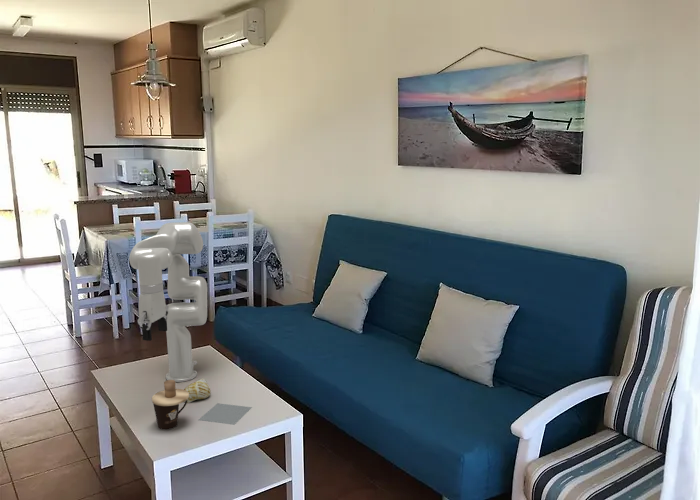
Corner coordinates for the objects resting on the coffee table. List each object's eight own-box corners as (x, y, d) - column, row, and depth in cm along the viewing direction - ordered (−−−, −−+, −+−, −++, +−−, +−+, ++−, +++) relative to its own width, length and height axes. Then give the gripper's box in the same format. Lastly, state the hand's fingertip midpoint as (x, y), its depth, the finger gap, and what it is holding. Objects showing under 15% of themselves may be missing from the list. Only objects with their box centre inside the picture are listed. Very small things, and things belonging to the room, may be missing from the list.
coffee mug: (156, 434, 196) (154, 406, 195) (153, 423, 204) (151, 396, 202) (191, 427, 201) (189, 400, 199) (187, 417, 209) (186, 390, 207)
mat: (217, 404, 219) (217, 403, 219) (252, 408, 215) (252, 407, 215) (198, 421, 205) (198, 419, 205) (234, 426, 202) (234, 424, 202)
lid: (165, 389, 208) (164, 373, 207) (195, 393, 205) (194, 376, 204) (144, 404, 197) (143, 387, 196) (176, 407, 193) (175, 390, 192)
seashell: (175, 403, 219) (179, 375, 222) (189, 404, 228) (193, 378, 231) (199, 404, 216) (203, 377, 219) (212, 406, 225) (216, 379, 228)
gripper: (155, 281, 212) (159, 326, 215) (126, 294, 195) (131, 343, 199) (174, 282, 210) (177, 328, 213) (146, 295, 193) (150, 345, 197)
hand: (155, 335), depth 206 cm, fingers open, 9 cm apart
